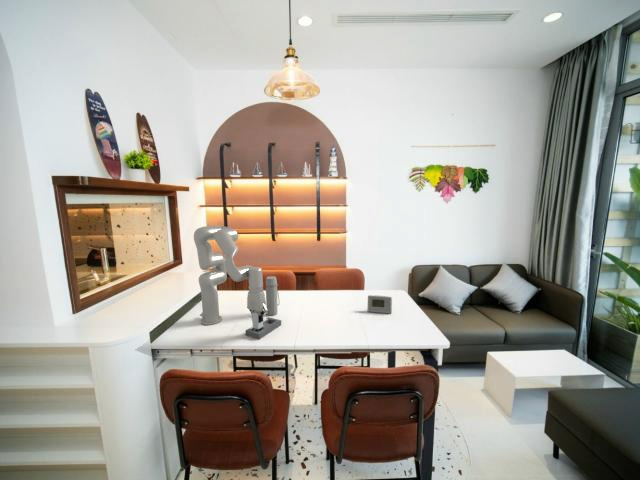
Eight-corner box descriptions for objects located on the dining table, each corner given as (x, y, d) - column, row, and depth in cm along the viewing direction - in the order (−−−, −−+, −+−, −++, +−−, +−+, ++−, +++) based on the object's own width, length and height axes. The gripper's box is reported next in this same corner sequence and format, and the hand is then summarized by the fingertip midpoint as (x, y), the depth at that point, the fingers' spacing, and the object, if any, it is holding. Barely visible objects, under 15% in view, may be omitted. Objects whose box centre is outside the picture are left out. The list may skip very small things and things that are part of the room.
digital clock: (366, 312, 185) (366, 296, 183) (369, 307, 193) (369, 292, 191) (390, 316, 178) (390, 300, 176) (393, 311, 186) (393, 296, 184)
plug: (252, 327, 153) (252, 311, 152) (257, 324, 157) (256, 308, 156) (258, 329, 151) (257, 312, 150) (263, 326, 155) (262, 309, 154)
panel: (245, 335, 153) (245, 330, 153) (268, 321, 171) (267, 316, 170) (259, 339, 148) (259, 333, 148) (281, 324, 166) (281, 319, 166)
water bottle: (269, 317, 178) (268, 279, 174) (264, 313, 184) (263, 277, 181) (282, 313, 183) (281, 277, 180) (276, 310, 189) (275, 274, 186)
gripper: (239, 289, 152) (241, 320, 154) (263, 293, 144) (265, 326, 146) (249, 285, 158) (250, 316, 161) (272, 289, 151) (273, 321, 153)
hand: (257, 320), depth 154 cm, fingers closed on plug, 4 cm apart
